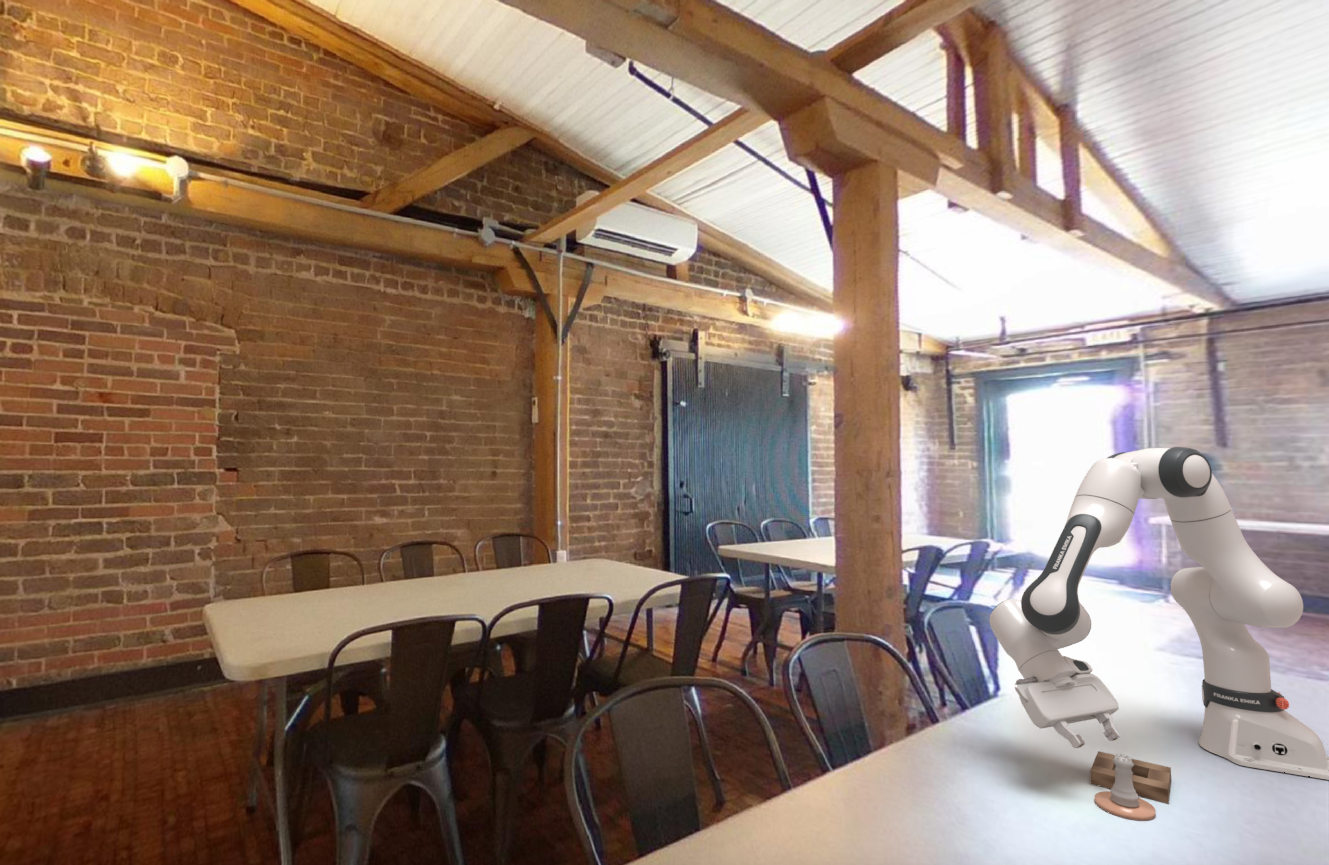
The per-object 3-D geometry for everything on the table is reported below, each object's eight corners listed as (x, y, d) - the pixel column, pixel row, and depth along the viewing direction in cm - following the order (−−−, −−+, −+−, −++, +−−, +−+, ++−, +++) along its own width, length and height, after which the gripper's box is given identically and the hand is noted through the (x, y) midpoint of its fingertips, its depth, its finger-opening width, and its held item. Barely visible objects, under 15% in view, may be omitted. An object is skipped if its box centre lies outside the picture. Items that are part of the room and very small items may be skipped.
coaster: (1157, 806, 119) (1157, 801, 119) (1154, 826, 112) (1153, 821, 112) (1098, 790, 124) (1098, 786, 124) (1091, 809, 117) (1091, 804, 117)
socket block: (1171, 780, 129) (1170, 767, 129) (1168, 803, 120) (1167, 789, 120) (1098, 763, 136) (1098, 751, 137) (1090, 783, 127) (1090, 770, 127)
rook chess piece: (1103, 797, 120) (1102, 752, 121) (1126, 796, 121) (1124, 751, 121) (1123, 809, 116) (1121, 762, 116) (1146, 808, 116) (1144, 761, 117)
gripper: (1019, 672, 127) (1068, 742, 118) (1093, 661, 135) (1145, 727, 125) (1001, 688, 131) (1047, 758, 121) (1074, 677, 138) (1123, 742, 129)
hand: (1097, 742), depth 123 cm, fingers open, 8 cm apart
